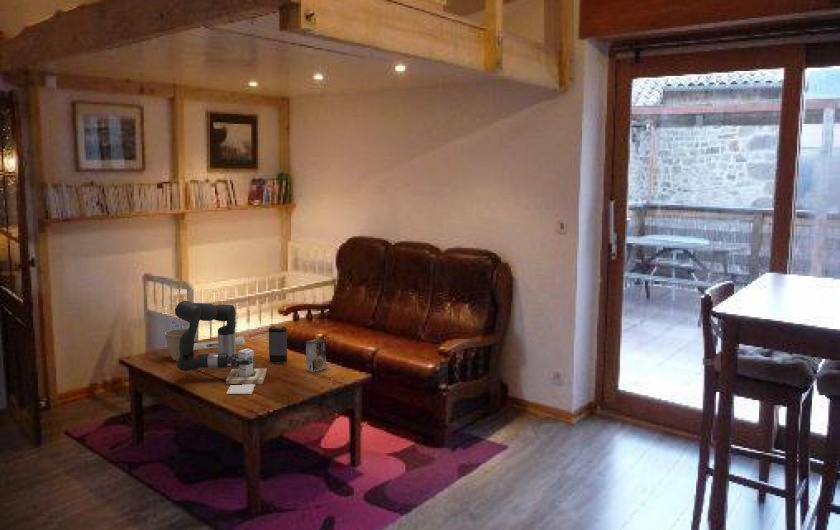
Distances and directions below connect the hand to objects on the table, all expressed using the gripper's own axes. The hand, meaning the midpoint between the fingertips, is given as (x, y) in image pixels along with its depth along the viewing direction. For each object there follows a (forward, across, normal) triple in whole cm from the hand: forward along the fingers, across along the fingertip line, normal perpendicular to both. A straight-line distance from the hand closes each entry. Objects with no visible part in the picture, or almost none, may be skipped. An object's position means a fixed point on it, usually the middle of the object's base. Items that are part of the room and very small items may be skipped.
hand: (250, 360), depth 345 cm
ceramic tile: (-2, -18, +10) cm, 21 cm away
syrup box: (-2, 0, +9) cm, 10 cm away
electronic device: (+11, +28, +10) cm, 32 cm away
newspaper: (-31, +64, +11) cm, 72 cm away
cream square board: (-2, 0, +10) cm, 10 cm away
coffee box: (+33, +13, +10) cm, 37 cm away
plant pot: (-45, +37, +11) cm, 59 cm away
